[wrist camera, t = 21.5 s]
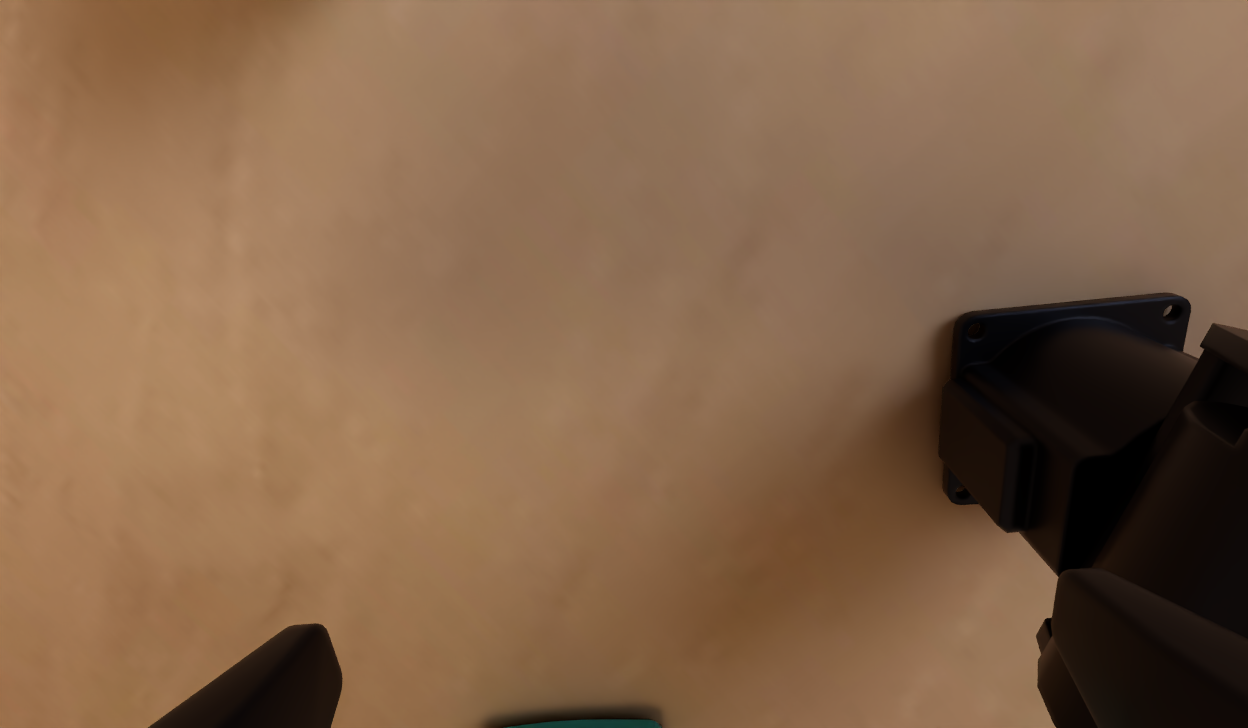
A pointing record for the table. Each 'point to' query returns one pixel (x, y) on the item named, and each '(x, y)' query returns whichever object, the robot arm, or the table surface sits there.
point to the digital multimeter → (595, 724)
